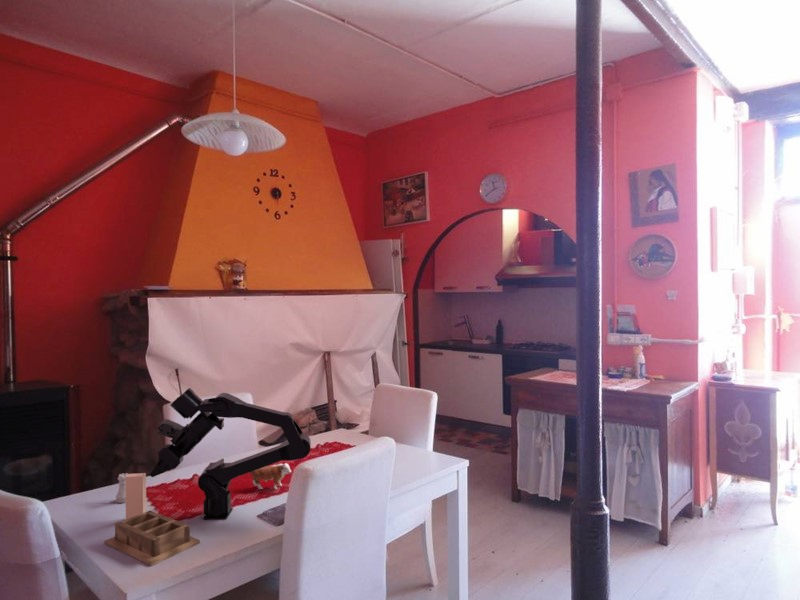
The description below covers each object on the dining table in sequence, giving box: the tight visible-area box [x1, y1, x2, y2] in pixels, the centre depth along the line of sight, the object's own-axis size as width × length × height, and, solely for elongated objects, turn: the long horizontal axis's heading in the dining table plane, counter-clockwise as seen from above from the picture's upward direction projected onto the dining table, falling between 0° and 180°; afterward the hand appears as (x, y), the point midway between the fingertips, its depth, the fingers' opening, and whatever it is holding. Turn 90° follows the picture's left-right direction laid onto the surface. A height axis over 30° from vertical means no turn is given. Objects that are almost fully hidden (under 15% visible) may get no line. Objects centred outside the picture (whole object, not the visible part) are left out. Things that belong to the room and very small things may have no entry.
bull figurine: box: [249, 462, 292, 490], centre depth 169 cm, size 4×13×8 cm, turn 89°
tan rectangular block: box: [125, 472, 147, 520], centre depth 146 cm, size 4×2×12 cm, turn 98°
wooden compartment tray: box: [104, 510, 201, 567], centre depth 132 cm, size 13×20×5 cm, turn 58°
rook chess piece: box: [115, 472, 129, 504], centre depth 159 cm, size 4×4×8 cm
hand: (156, 470), depth 146 cm, fingers open, 9 cm apart
